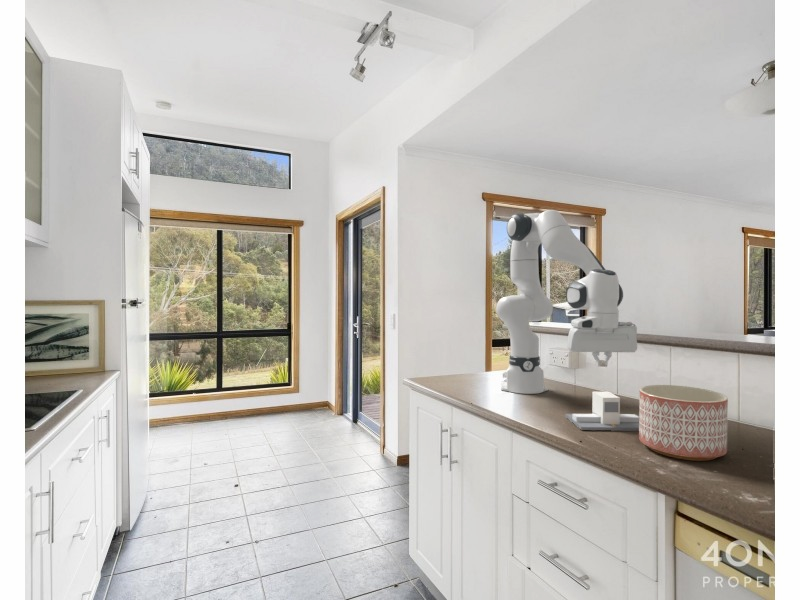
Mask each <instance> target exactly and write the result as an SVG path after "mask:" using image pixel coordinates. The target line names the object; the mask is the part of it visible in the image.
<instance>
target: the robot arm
mask: <svg viewBox="0 0 800 600" xmlns="http://www.w3.org/2000/svg"><path fill="white" fill-rule="evenodd" d="M506 232H507V235H508V237H509V239H510V240H512V241H511V245H510V246H511V247H510V254H509V255H510V259H509V260H510V263H509V264H510V267H509V268H510V271H509V272H510V281H511V282H512V283H513V284H514V285H515V286H516V287H517V288H518V291H519V294H517V295H516V294H514V295H513V294H511V295H507V296H503V297H501V298H499V300H498V302H497V303H496V307H495V309H496V315H497V317H498V318H499V319H500V320H501V321H502V322H503V324H505V326H506V328H507V330H508V334H509V340H510V355H509V359H508V363H509V365H508V367H507V369H506V371H503V372H502V378H503V379H504V380H501V384H500V390H501V391H504V392H505V391H506V392H510V393H515V394H526V395H530V394H531V395H533V394H540V393H543V392H547V391H549V388H548V387H547V386H545V375H544V370H543V369H542V368H541V367H540V365H541V359H540V358H541V357H540V355H539V354H540V353H539V351H540V350H539V349H540V347H539V345H540V340H539V335H537V334H536V333H535V332H533V330H532V328H531V326H530V322H531V323H532V322H541V321H544V320H547V319H549V318H550V317H551V316H552V313H553V311H554V306H553V302H552V301H551V299H550V298H549V297H548V296H547V295H546V294H545V292H544V290H543V288H542V284H541V281H540V274H539V272H540V271H539V269H540V267H539V247H540V245H542V247H543V248H542V249H544V251H545V253H546V254H547V255H548V256H549V257H550V258H552V259H553V260H556V261H559V262H560V261H561V262H565V263H568V264H571V265H574V266H576V267H578V268H579V269H581V270H582V271H583V272H584V273H585V275H586V276H584V277H582V278H580V279H577V280H574V281H571V282H570V283H569V285H568V286H567V288H566V292H565V298H566V302H567V304H568V306H570V307H571V308H572V309H575V310H587V311H586V312H587V313H586V314H587V315H584V316H581V317H577V318H574V319H571V323H570V325H571V326H572V327H571V328H570V329H569V332H568V336H567V349H568V350H569V351H570V352H571V353H572V352H574V353H580V352H581V353H591V355H592V357H593V358H594V360H595V366H596V367H598V368H600V367H605V368H606V367H608V365H609V364H608V363H609V360H610V359H611V357H612V353H635V352H636V351H637V350H638V340H637V338H638V337H637V333H638V332H637V331H638V330H637V329H638V328H637V325H636V324H635V323H632V322H631V321H625V322H624V321H619V312H620V311H619V308H618V307H619V306H620V305H621V304H622V301H623V299H624V290H623V287H622V286H621V285H620V281H619V278H618V274H617V272H615V271H613V270H610V269H606V268H605V267H604V265H602V263H601V261H600V260H599V259H598V257H597V256H596V255H595V253H594V251H592V249H590V248H589V247H588V246H587V245H585V243H583V242H582V241H581V240H580V239H579V238H578V237H577V235H575V232H573V230H572V228H571V227H570V224H569V223H568V221H567V220H566V219H565V218H564V216H563V215H562V214H561V213H560V212H559V210H558V211H557V210H556V209H547V210H544V211H543V212H535V213H516V214H513V215H511V216H510V217H509V218H508V221H507V223H506ZM600 353H603V354H604V355H605V356H604V358H603V359H600V358H599V356H600Z"/></svg>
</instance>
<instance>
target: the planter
mask: <svg viewBox="0 0 800 600" xmlns="http://www.w3.org/2000/svg"><path fill="white" fill-rule="evenodd" d="M638 396H639V403H638V404H639V407H638V408H639V410H638V417H639V431H638V439H639V441H640V442H641V443H642V444H643V445H645V446H646V447H648V448H649V449H650V450H652V451H653V452H655V453H658V454H660V455H663V456H666V457H669V458H673V459H679V460H684V461H685V460H686V461H695V462H699V461H700V462H701V461H702V462H703V461H704V462H705V461H712V460H715V459H717V458H719V457H723V456H725V455H726V454H727V453H728V413H729V412H728V410H729V409H728V405H729V401H728V399H729V398H728V396H726V395H725V394H724V393H721V392H718V391H715V390H714V391H713V390H710V389H705V388H699V387H694V386H687V385H685V386H684V385H674V384H650V385H644V386H641V387H639V395H638Z"/></svg>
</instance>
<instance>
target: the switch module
mask: <svg viewBox="0 0 800 600" xmlns="http://www.w3.org/2000/svg"><path fill="white" fill-rule="evenodd" d="M591 399H592V401H591V403H592V404H591V408H592V410H591V411H592V413H591V414H597V415H599V416H600V417H601V423H602V424H620V414H621V397H619V396H617V395H615V394H614V393H612V392H610V391H592V398H591Z"/></svg>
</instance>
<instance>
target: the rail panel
mask: <svg viewBox="0 0 800 600" xmlns="http://www.w3.org/2000/svg"><path fill="white" fill-rule="evenodd" d="M564 417H565V418H566V419H567V418H568V419H569V420H570V421H569V420H568V419H567V420H568V421H569V422H571V423H572V422H573V423H574V424H575V425H576V426H577V427H576V426H575V425H574V424H573V423H572V424H573V425H574V426H575V427H576V428H578V427H579V428H580V429H581V430H611V431H613V432H615V431H617V432H639V415H637V414H635V413H633V414H632V413H631V414H630V413H620V424H602V423H601V417H600V416H599V415H597V414H592V413H564ZM579 428H578V429H579ZM580 429H579V430H580ZM581 430H580V431H581ZM611 431H610V432H611Z"/></svg>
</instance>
